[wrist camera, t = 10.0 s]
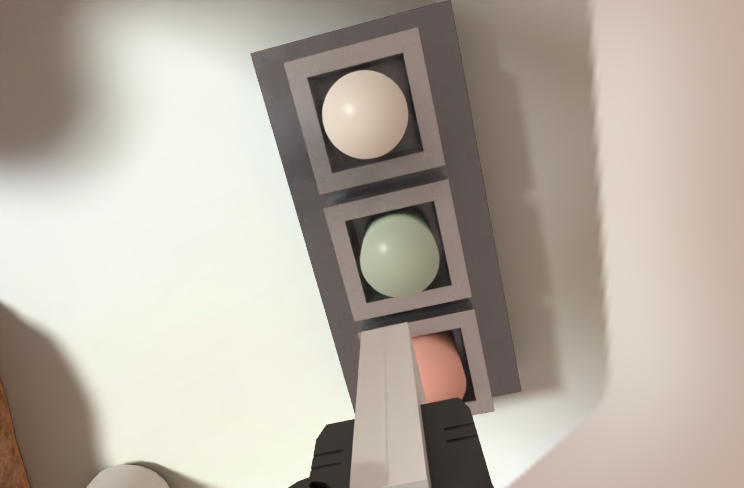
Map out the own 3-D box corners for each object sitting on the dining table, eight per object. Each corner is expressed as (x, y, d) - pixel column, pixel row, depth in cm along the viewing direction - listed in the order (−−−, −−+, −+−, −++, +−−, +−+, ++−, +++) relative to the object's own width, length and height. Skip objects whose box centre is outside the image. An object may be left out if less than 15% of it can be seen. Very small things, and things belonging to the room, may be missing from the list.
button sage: (356, 213, 31) (351, 231, 27) (424, 198, 30) (430, 214, 26) (372, 277, 32) (370, 304, 28) (438, 263, 32) (446, 288, 27)
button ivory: (323, 85, 29) (312, 82, 24) (396, 66, 28) (397, 60, 24) (342, 158, 30) (334, 167, 26) (412, 141, 29) (416, 148, 25)
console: (263, 58, 32) (232, 46, 25) (444, 9, 30) (459, -16, 24) (359, 398, 38) (354, 455, 32) (511, 369, 37) (535, 422, 31)
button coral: (385, 326, 33) (385, 359, 29) (449, 312, 32) (458, 344, 28) (399, 381, 34) (401, 422, 30) (461, 369, 34) (472, 409, 29)
